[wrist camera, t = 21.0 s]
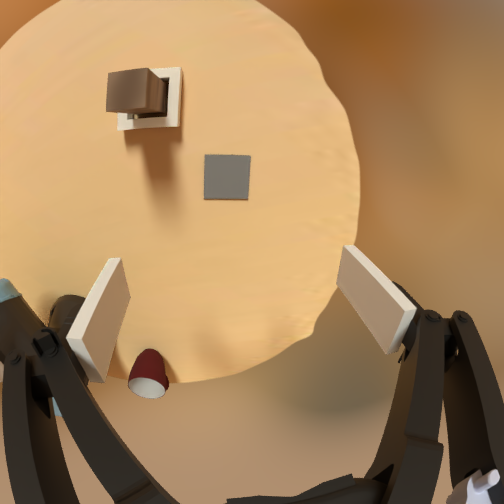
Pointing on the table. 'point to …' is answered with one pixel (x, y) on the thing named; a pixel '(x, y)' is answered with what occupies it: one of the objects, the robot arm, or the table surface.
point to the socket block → (174, 104)
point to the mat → (226, 176)
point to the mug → (148, 375)
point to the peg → (135, 92)
